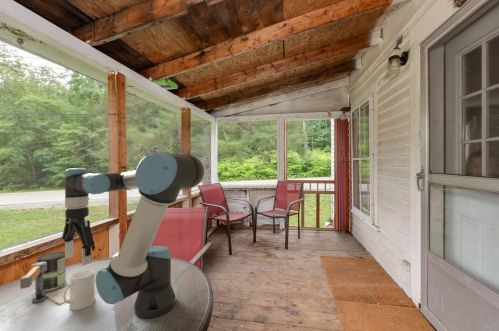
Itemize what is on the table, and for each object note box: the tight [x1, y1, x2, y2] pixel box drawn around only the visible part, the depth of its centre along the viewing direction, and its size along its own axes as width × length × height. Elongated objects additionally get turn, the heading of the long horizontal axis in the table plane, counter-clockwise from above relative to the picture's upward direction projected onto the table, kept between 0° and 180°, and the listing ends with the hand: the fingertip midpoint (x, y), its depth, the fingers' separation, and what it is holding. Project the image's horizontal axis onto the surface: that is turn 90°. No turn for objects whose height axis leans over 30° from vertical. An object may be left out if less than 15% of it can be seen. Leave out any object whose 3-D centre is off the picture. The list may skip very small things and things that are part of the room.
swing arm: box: [19, 262, 47, 290], centre depth 93 cm, size 17×5×4 cm, turn 26°
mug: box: [63, 269, 96, 311], centre depth 94 cm, size 12×8×12 cm
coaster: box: [45, 286, 70, 306], centre depth 104 cm, size 13×13×1 cm
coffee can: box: [36, 251, 67, 292], centre depth 111 cm, size 10×10×14 cm
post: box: [31, 272, 47, 304], centre depth 99 cm, size 4×4×12 cm
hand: (77, 260), depth 94 cm, fingers open, 13 cm apart
